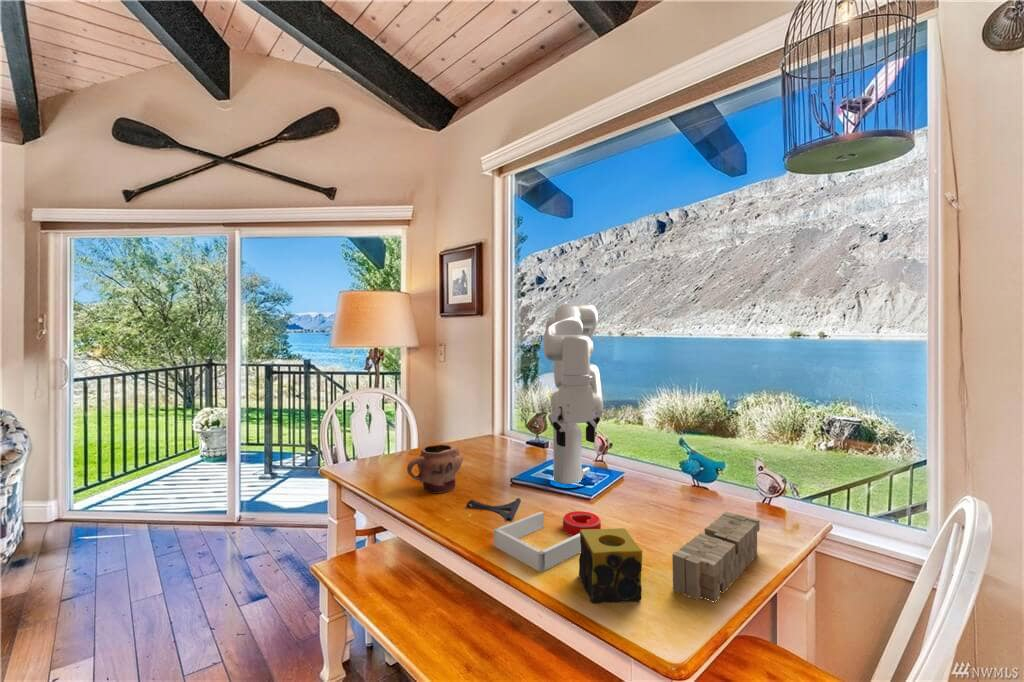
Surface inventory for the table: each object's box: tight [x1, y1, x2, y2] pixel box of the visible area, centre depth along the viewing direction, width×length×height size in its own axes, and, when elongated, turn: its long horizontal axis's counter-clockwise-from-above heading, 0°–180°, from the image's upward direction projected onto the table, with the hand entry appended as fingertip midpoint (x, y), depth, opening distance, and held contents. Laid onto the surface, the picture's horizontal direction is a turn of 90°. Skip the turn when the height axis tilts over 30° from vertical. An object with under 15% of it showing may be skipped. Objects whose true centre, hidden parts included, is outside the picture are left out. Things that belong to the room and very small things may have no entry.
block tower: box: [671, 511, 761, 602], centre depth 97 cm, size 8×8×29 cm
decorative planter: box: [406, 444, 464, 494], centre depth 145 cm, size 20×12×14 cm, turn 136°
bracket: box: [466, 497, 522, 522], centre depth 130 cm, size 14×15×3 cm
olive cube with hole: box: [578, 527, 643, 604], centre depth 90 cm, size 10×10×10 cm
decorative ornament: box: [562, 510, 602, 537], centre depth 117 cm, size 10×10×3 cm
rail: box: [493, 511, 581, 573], centre depth 107 cm, size 16×16×4 cm
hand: (575, 443), depth 123 cm, fingers open, 9 cm apart
